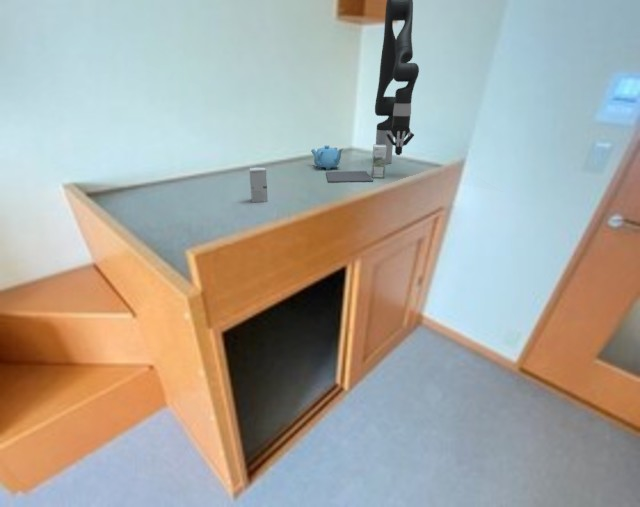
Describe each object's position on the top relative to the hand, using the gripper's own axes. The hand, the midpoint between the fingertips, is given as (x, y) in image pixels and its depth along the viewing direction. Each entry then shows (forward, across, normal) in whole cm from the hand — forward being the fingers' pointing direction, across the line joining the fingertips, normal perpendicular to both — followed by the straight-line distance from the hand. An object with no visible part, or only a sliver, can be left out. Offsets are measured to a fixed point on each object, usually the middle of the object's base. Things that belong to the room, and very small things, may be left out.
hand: (398, 154), depth 161 cm
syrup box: (+10, +9, 0) cm, 13 cm away
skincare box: (+10, +61, +32) cm, 70 cm away
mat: (+10, +23, 0) cm, 25 cm away
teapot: (+10, +31, -21) cm, 39 cm away
